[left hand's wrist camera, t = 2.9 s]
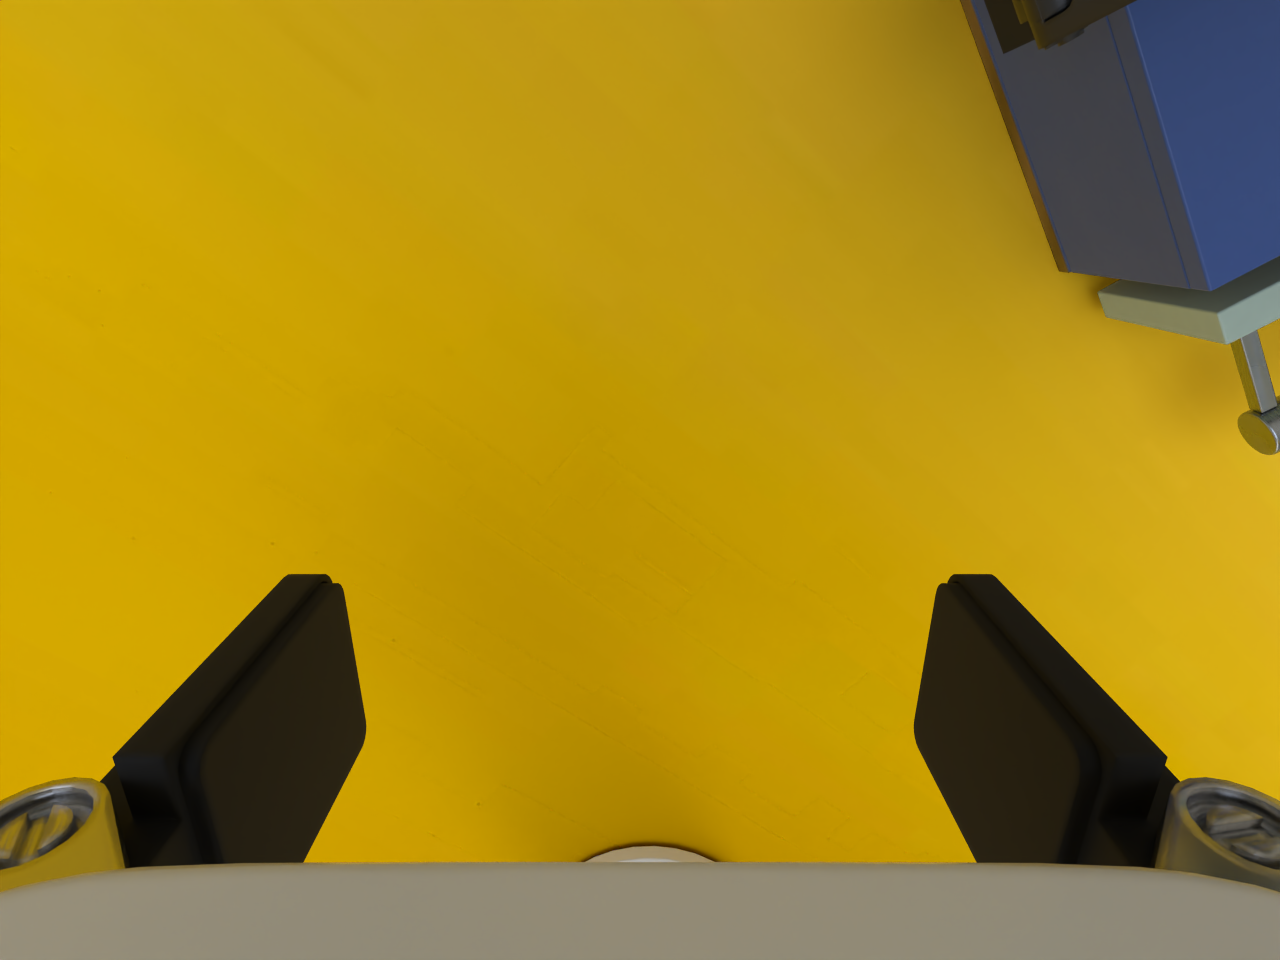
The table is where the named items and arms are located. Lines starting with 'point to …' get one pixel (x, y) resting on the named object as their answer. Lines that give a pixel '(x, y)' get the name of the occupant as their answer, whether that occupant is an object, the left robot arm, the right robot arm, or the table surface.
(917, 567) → the table surface
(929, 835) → the table surface
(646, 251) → the table surface
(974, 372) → the table surface
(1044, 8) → the right robot arm
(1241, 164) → the cabinet
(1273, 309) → the drawer
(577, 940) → the left robot arm
